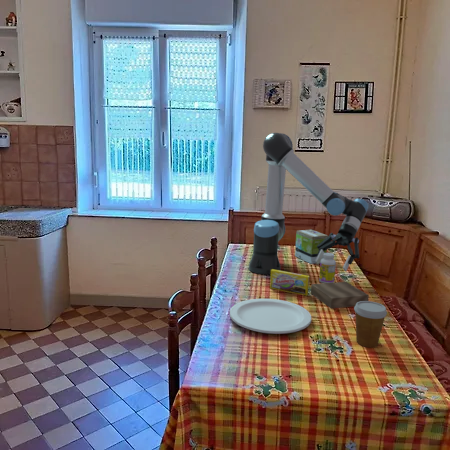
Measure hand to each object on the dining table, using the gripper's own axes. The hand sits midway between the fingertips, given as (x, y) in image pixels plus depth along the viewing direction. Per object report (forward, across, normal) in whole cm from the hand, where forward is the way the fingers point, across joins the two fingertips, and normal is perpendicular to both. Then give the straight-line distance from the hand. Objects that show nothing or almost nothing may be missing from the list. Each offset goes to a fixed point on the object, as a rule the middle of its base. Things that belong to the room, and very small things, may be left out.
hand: (330, 266), depth 183 cm
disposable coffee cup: (+36, -38, +25) cm, 58 cm away
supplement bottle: (+6, +1, -5) cm, 8 cm away
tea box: (-13, +26, -24) cm, 37 cm away
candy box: (+22, +5, +11) cm, 25 cm away
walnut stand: (+16, -13, +6) cm, 22 cm away
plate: (+42, -6, +31) cm, 52 cm away
